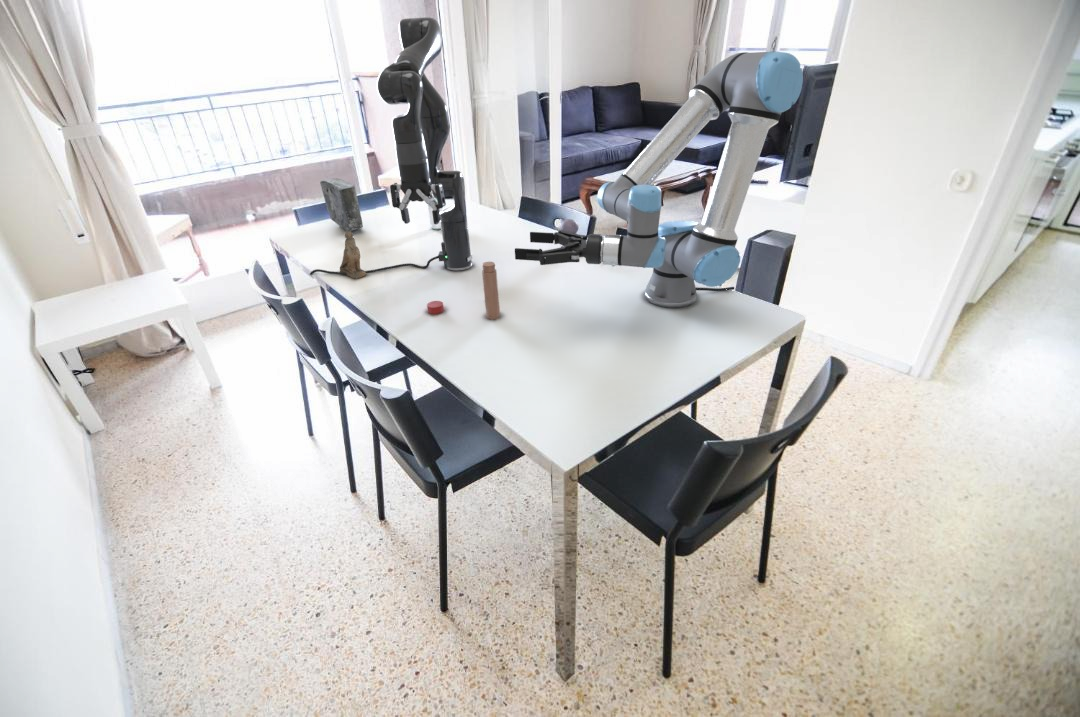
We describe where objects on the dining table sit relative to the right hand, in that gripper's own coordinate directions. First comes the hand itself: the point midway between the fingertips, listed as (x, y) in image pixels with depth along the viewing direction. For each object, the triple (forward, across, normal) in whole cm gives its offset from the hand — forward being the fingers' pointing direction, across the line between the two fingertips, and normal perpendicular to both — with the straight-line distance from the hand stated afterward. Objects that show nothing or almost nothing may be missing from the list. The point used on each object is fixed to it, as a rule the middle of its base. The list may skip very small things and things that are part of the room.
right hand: (523, 245), depth 132 cm
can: (+65, +79, -22) cm, 104 cm away
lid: (+29, 0, -20) cm, 35 cm away
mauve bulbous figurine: (0, +59, -22) cm, 63 cm away
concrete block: (+107, +71, -22) cm, 130 cm away
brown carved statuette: (+72, +22, -22) cm, 78 cm away
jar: (+10, 0, -22) cm, 24 cm away
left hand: (+29, 0, +5) cm, 29 cm away
